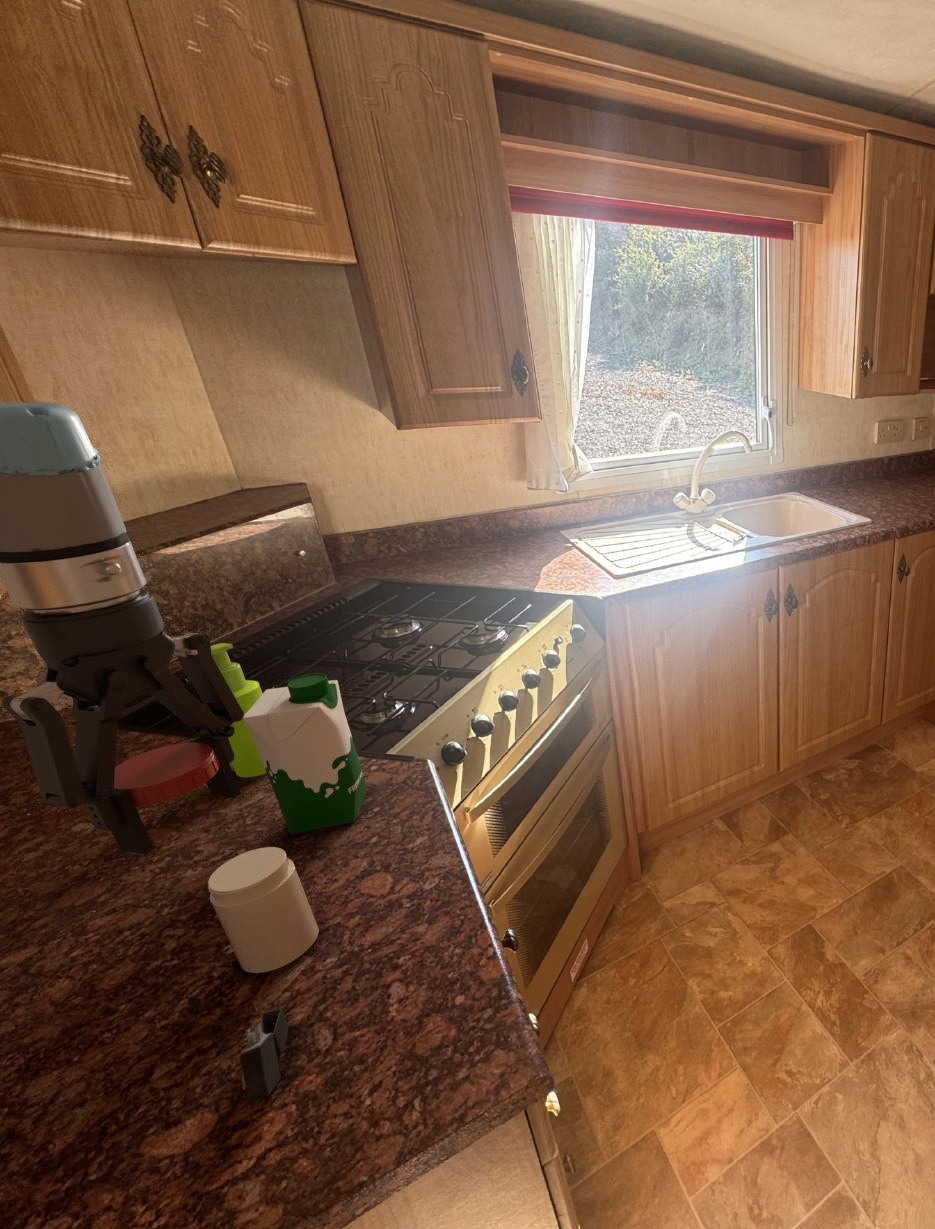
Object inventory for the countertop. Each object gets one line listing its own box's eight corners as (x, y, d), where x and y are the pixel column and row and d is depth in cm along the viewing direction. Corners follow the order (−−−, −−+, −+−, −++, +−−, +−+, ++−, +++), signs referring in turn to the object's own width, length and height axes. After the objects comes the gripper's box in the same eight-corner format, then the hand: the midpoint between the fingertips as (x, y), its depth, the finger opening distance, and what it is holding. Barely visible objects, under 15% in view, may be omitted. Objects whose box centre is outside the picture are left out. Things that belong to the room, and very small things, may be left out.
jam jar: (233, 948, 68) (197, 870, 64) (309, 910, 72) (280, 835, 68) (248, 985, 64) (211, 905, 60) (327, 942, 68) (297, 865, 64)
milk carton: (360, 825, 85) (318, 693, 78) (278, 841, 82) (225, 706, 75) (376, 786, 93) (339, 662, 85) (301, 799, 90) (256, 673, 82)
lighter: (266, 1070, 59) (256, 1012, 59) (294, 1058, 60) (284, 1001, 60) (237, 1108, 52) (225, 1043, 52) (269, 1094, 53) (258, 1030, 53)
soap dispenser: (218, 778, 94) (167, 655, 87) (265, 752, 100) (222, 635, 93) (249, 784, 93) (200, 660, 85) (295, 757, 99) (254, 640, 92)
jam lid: (227, 779, 61) (220, 762, 60) (116, 818, 55) (107, 800, 55) (211, 749, 65) (204, 733, 64) (106, 783, 60) (98, 766, 59)
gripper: (-48, 655, 43) (91, 908, 52) (245, 565, 62) (311, 763, 70) (-134, 645, 44) (16, 895, 53) (179, 559, 63) (252, 756, 72)
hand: (184, 820), depth 62 cm, fingers closed on jam lid, 7 cm apart
